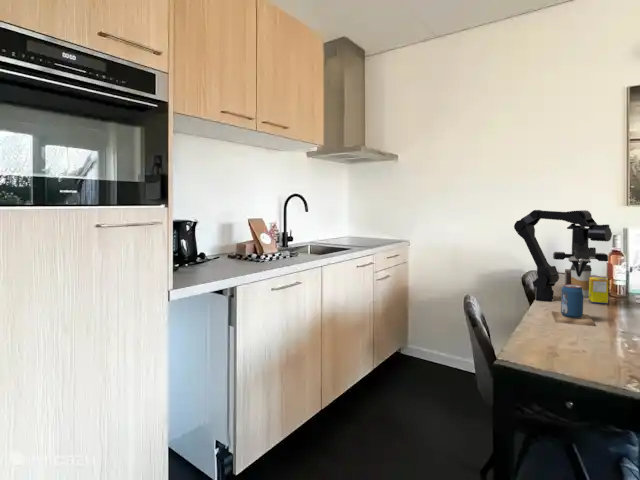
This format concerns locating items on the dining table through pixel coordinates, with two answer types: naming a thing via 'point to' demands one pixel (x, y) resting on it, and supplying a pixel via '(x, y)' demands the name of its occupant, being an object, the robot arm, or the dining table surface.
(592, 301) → the supplement box
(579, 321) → the tan flat square slab
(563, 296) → the soda can
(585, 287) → the coffee cup
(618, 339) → the dining table surface
